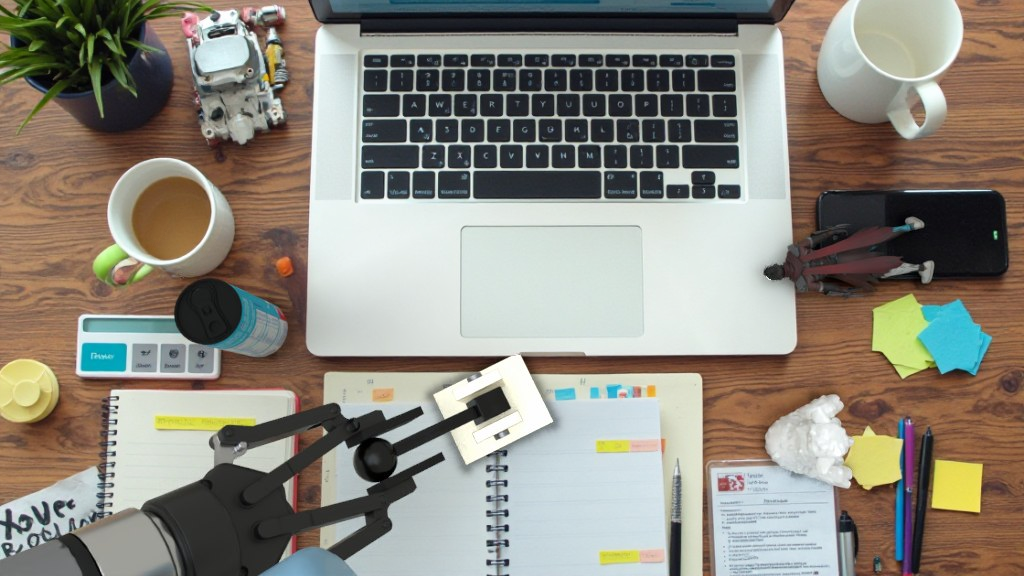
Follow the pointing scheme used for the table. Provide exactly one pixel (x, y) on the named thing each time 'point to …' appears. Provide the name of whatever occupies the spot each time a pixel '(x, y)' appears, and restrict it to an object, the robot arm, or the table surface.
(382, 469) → the switch
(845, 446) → the sitting furry creature
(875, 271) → the action figure
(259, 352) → the beverage can
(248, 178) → the table surface
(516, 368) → the white c-shaped piece
